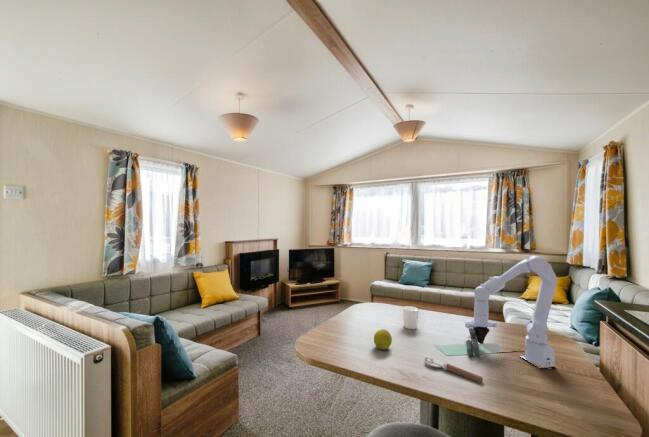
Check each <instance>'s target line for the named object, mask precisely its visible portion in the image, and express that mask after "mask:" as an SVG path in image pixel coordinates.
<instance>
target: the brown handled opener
mask: <svg viewBox="0 0 649 437" xmlns="http://www.w3.org/2000/svg"><path fill="white" fill-rule="evenodd" d="M428 359H429V360H430V361H428ZM423 362H424V363H425V364H426V365H428V366H431V367H433V368H443V370H444V371H448V372H451V373H453V374H456V375H458V376H461V377H463V378H466V379H468V380H471V381H473V382H476V383H479V384H483V377H482V376H481V375H478V374H475V373H473V372H470V371H467V370H466V369H462V368H461V367H457V366H456V365H452V364H450V363H449V362H442V361H441V360H440V359H437V358H435V357H433V356H431V355H427V356H425V358H424V360H423Z"/></svg>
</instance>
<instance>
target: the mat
mask: <svg viewBox="0 0 649 437" xmlns="http://www.w3.org/2000/svg"><path fill="white" fill-rule="evenodd" d="M496 343H497V342H488V343H487V342H486V343H484V342H483V344H480V343H478V347H479V355H482V354H483V355H484V354H486V355H487V354H500V353H499V352H500V350H499V345H498V344H496ZM435 348H437V349H438V350H439V351H440V352H441V353H443V354H444V355H445V356H449V357H450V356H469V355H468V353H467V343H465V344H464V343H463V344H446V345H440V344H439V345H435ZM472 350H473V343H472ZM498 351H499V352H498ZM497 352H498V353H497ZM473 355H475V354H474V351H473Z"/></svg>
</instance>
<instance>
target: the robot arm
mask: <svg viewBox="0 0 649 437" xmlns="http://www.w3.org/2000/svg"><path fill="white" fill-rule="evenodd" d="M531 271H532V272H533V273H535V274H536V275H537V276H538V277H539V278H540V280H541V282H540V285H539V289H538V293H537V297H536V301H535V304H534V309H533V311H532V315H531V317H530V320H529V321H527V323H526V324H525V329H526V332H527V335H526V336H524V338H525V341H524V351H525V352H524V355H519V356H520V357H521V358H520V357H519V358H520V359H522V358H524V359H525V360H528V361H529V362H532V363H534V364H536V365H538V366H540V367H550V366H556V365H555V361H556V360H555V357H556V355H555V349H554V348H552V347H551V346H550V345H549V344H548V333H547V330H548V318H549V315H550V311H551V306H552V303H553V300H554V296H555V292H556V288H557V284H558V277H557V275H556V273H555V272H554V269H553V268H552V265H551V264H550V263H549V262H548V261H547V260H546V259H545V258H543V257H542V256H540V255H537V254H533V255H530V256H528V257H527V258H525V259H523V260H521V261H519V262H518V263H516V264H515V265H514V266H512V267H510V269H508V270H507V271H505V272H504V273H503V274H501V275H499V276H496V275H495V276H490V277H489V278H488V280H487V281H485V282H484V283H480V284H479V286H476V287H475V289H474V294H473V295H474V303H473V309H474V310H473V320H472V321H471V320H470V321H468V322H466V321H465V323H464V327H465V328H467V329H469V328H473V329H474V331H475V333H476V336H477V340H478V344H483V343H484V341H485V339H486V336H487V335H488V334H489V332H490V329H489V328H497V326H498V325H497V324H498V323H497V322H495V321H489V308H490V306H489V299H490V296H493V295H495V294H496V293H497V292H499V291H501V290H502V289H504V288H505V287H506V283H507V282H508V281H510V280H512V279H514V278H516V277H517V276H518V275H520V274H522V273H531ZM488 327H489V328H488ZM524 356H525V357H524ZM525 360H524V361H525Z"/></svg>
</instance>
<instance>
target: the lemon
mask: <svg viewBox="0 0 649 437" xmlns="http://www.w3.org/2000/svg"><path fill="white" fill-rule="evenodd" d="M392 342H393V337H392V334H391V333H390V331H389V330H387V329H384V328H383V329H378V330H377V331H376V332H375V333H374V336H373V343H374V345H375V347H377V348H378V349H379V350H382V351H383V350H385V351H386V350H387V349H389V348H390V347H391V345H392Z"/></svg>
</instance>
